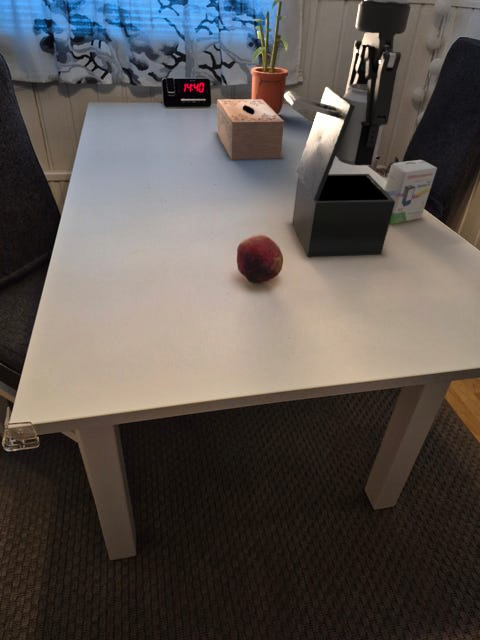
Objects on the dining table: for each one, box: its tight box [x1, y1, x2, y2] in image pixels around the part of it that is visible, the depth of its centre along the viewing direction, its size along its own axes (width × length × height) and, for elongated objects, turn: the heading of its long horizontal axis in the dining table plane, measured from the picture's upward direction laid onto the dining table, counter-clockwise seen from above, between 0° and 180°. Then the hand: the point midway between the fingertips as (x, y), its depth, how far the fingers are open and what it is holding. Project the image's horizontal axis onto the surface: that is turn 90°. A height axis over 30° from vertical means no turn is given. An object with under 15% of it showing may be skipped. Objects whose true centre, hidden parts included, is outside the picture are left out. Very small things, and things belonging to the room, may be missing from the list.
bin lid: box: [284, 86, 355, 201], centre depth 77 cm, size 16×14×9 cm
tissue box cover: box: [216, 98, 285, 161], centre depth 133 cm, size 26×14×10 cm, turn 11°
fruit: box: [236, 234, 284, 285], centre depth 74 cm, size 8×8×8 cm
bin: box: [291, 173, 395, 258], centre depth 87 cm, size 15×14×11 cm
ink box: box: [384, 159, 438, 225], centre depth 95 cm, size 9×5×12 cm, turn 114°
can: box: [335, 84, 384, 166], centre depth 77 cm, size 8×8×12 cm
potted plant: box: [250, 0, 289, 115], centre depth 154 cm, size 17×16×35 cm
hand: (355, 156), depth 80 cm, fingers closed on can, 7 cm apart
